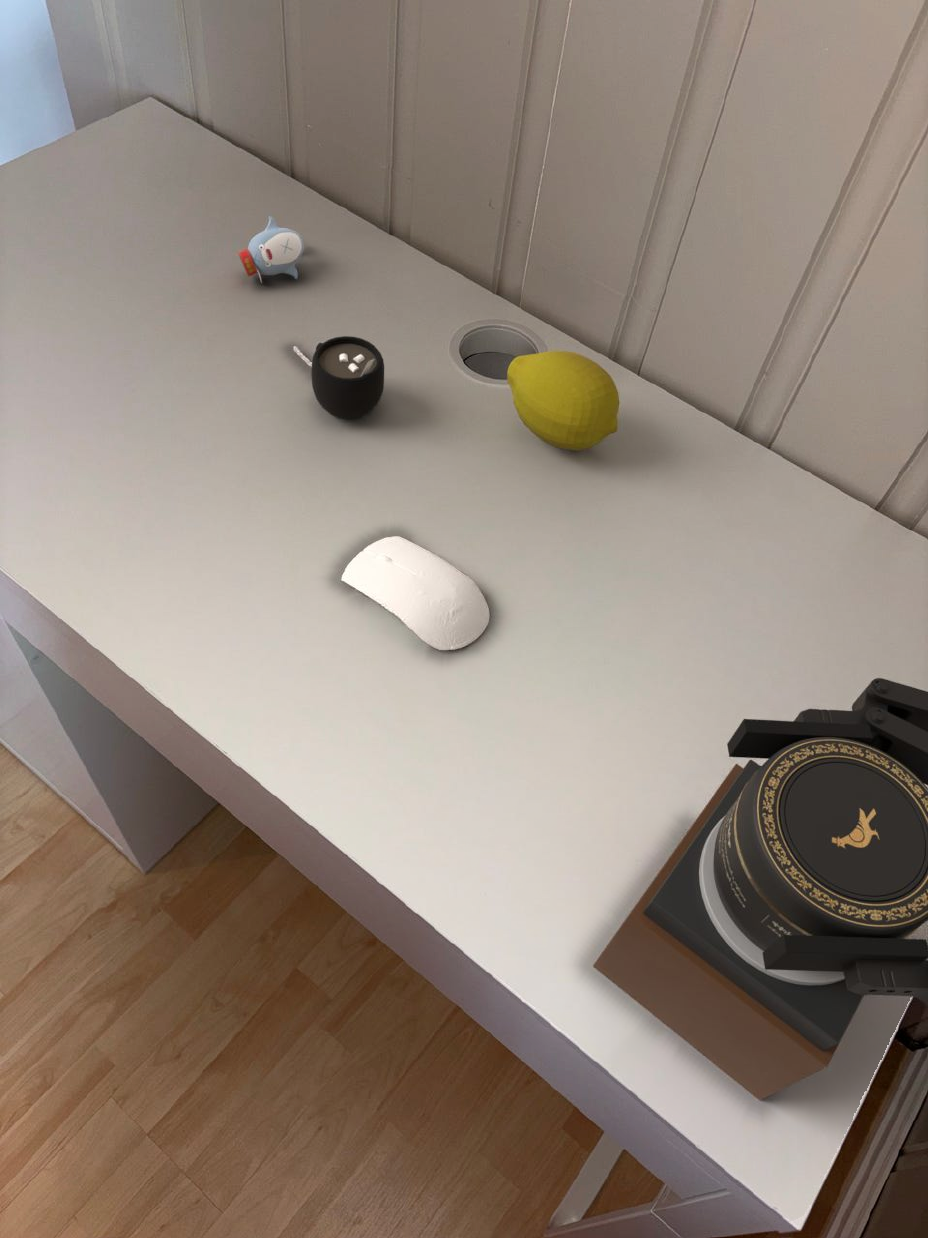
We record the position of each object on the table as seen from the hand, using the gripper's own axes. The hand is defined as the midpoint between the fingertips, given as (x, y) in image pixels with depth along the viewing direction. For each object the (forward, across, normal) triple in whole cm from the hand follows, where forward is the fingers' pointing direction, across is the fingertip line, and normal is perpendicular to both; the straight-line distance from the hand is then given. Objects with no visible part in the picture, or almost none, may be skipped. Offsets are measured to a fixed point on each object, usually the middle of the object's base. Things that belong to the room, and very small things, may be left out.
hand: (753, 838), depth 47 cm
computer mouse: (+16, +27, -19) cm, 36 cm away
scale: (-4, 0, -18) cm, 19 cm away
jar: (-4, 0, -6) cm, 7 cm away
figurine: (+31, +66, -19) cm, 76 cm away
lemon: (+4, +46, -19) cm, 50 cm away
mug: (+24, +50, -19) cm, 58 cm away
